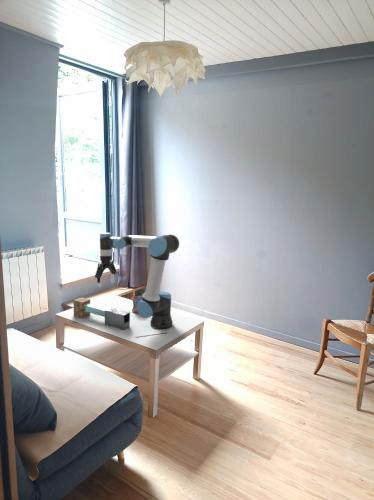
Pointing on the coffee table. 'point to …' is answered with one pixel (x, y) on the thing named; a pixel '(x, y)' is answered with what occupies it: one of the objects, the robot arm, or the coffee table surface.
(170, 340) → the coffee table surface
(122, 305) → the coffee table surface
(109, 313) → the sleeve
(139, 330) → the coffee table surface
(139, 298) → the mug
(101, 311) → the teal square bar
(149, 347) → the coffee table surface
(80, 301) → the socket
